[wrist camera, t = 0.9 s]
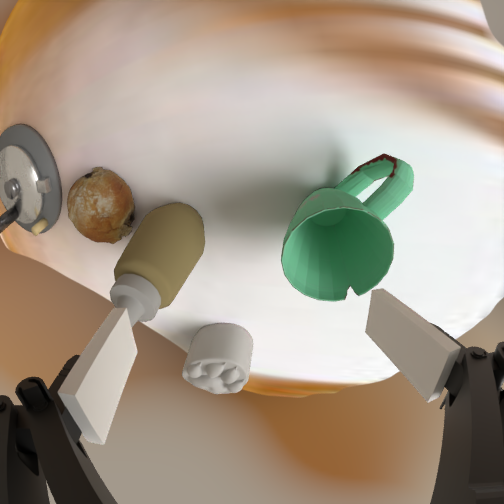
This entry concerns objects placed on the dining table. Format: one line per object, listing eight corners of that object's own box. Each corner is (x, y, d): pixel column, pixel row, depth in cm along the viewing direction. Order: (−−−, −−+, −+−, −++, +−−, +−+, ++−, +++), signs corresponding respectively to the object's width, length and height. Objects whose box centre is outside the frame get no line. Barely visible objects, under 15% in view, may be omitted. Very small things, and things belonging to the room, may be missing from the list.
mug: (332, 256, 34) (342, 315, 26) (267, 216, 32) (258, 271, 23) (408, 168, 26) (451, 208, 18) (343, 113, 24) (371, 129, 15)
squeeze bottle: (213, 252, 36) (168, 373, 21) (157, 245, 36) (93, 351, 21) (212, 195, 31) (147, 313, 16) (149, 191, 31) (59, 290, 17)
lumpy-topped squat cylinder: (186, 346, 50) (174, 384, 43) (211, 312, 43) (198, 357, 36) (233, 366, 52) (226, 403, 45) (267, 337, 45) (262, 381, 38)
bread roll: (136, 158, 33) (94, 152, 25) (153, 230, 34) (112, 239, 26) (91, 184, 36) (51, 185, 28) (105, 248, 37) (66, 259, 29)
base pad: (-9, 132, 26) (-25, 140, 23) (52, 115, 25) (32, 122, 22) (11, 225, 38) (-1, 236, 35) (73, 236, 37) (59, 250, 34)
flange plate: (-6, 148, 27) (-47, 173, 19) (43, 138, 26) (-10, 166, 18) (10, 217, 35) (-24, 247, 27) (60, 224, 34) (20, 263, 26)
